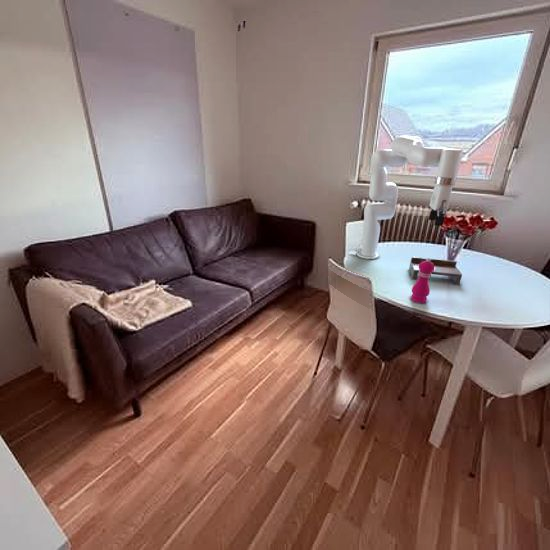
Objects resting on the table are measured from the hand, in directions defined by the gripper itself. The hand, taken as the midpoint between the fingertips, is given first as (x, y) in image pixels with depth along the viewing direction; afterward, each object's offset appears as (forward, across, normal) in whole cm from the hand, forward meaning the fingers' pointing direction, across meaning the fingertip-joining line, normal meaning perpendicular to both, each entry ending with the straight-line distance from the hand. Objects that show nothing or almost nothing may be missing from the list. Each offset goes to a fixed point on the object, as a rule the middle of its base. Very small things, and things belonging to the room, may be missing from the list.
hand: (435, 222), depth 133 cm
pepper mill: (+33, +9, -2) cm, 34 cm away
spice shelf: (+33, -18, +10) cm, 39 cm away
